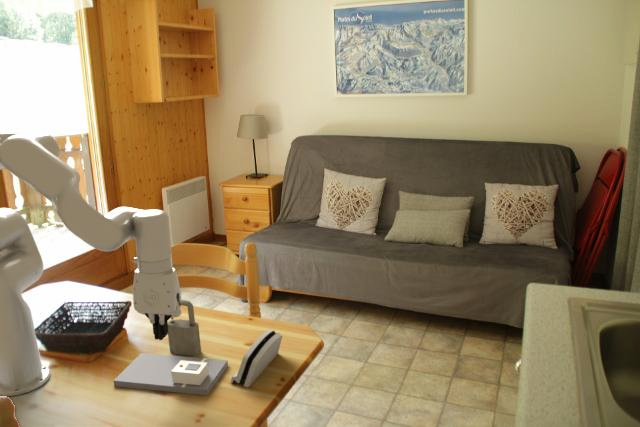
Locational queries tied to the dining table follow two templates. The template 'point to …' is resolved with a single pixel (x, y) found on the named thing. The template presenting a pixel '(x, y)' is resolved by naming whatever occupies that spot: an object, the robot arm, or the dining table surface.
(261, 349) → the grey zipper pouch
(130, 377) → the board
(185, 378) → the white electronic device
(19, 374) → the robot arm
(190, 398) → the dining table surface
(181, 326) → the padlock
